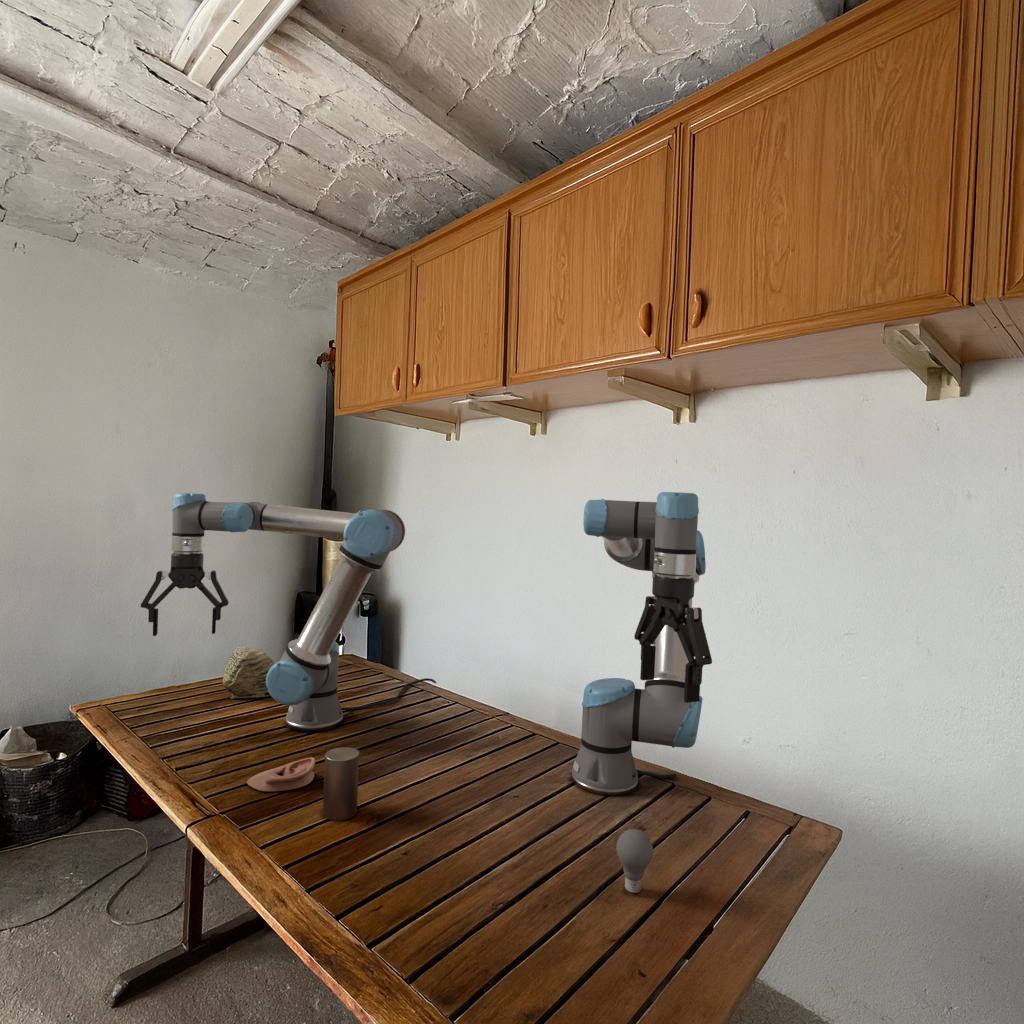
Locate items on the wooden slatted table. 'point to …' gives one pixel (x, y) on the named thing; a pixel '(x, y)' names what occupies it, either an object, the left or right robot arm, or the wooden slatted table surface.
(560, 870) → the wooden slatted table surface
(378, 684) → the wooden slatted table surface
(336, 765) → the canister
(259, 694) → the fossil
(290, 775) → the anatomical model
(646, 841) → the light bulb
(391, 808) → the wooden slatted table surface
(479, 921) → the wooden slatted table surface
